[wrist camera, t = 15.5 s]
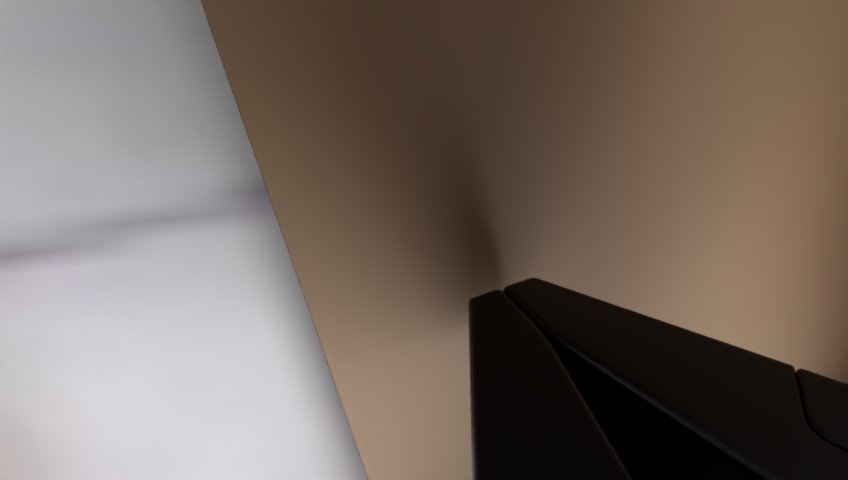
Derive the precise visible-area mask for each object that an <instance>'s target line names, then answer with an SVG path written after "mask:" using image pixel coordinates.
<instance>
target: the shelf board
mask: <svg viewBox="0 0 848 480" xmlns="http://www.w3.org/2000/svg"><path fill="white" fill-rule="evenodd" d="M201 3H202V6H203V8H204V11H205V14H206V17H207V20H208V23H209V26H210V28H211V31H212V34H213V37H214V40H215V43H216V46H217V48H218V51H219V54H220V57H221V60H222V63H223V66H224V68H225V71H226V74H227V77H228V80H229V83H230V86H231V88H232V91H233V94H234V97H235V100H236V103H237V106H238V108H239V111H240V114H241V117H242V120H243V123H244V126H245V128H246V131H247V134H248V137H249V140H250V143H251V146H252V148H253V151H254V154H255V157H256V160H257V163H258V166H259V168H260V171H261V174H262V177H263V180H264V183H265V186H266V188H267V191H268V194H269V197H270V200H271V203H272V206H273V208H274V211H275V214H276V217H277V220H278V223H279V226H280V228H281V231H282V234H283V237H284V240H285V243H286V246H287V248H288V251H289V254H290V257H291V260H292V263H293V266H294V268H295V271H296V274H297V277H298V280H299V283H300V286H301V288H302V291H303V294H304V297H305V300H306V303H307V306H308V308H309V311H310V314H311V317H312V320H313V323H314V326H315V328H316V331H317V334H318V337H319V340H320V343H321V346H322V348H323V351H324V354H325V357H326V360H327V363H328V366H329V368H330V371H331V374H332V377H333V380H334V383H335V386H336V388H337V391H338V394H339V397H340V400H341V403H342V406H343V408H344V411H345V414H346V417H347V420H348V423H349V426H350V428H351V431H352V434H353V437H354V440H355V443H356V446H357V448H358V451H359V454H360V457H361V460H362V463H363V466H364V468H365V471H366V474H367V477H368V480H472V464H471V413H470V363H469V312H468V303H469V300H470V299H471V298H473V297H476V296H479V295H482V294H485V293H488V292H491V291H493V290H501V291H503V289H504V288H505V287H506V286H508V285H511V284H514V283H517V282H520V281H523V280H525V279H528V278H538V279H541V280H544V281H547V282H550V283H553V284H556V285H559V286H562V287H565V288H568V289H571V290H573V291H576V292H579V293H582V294H585V295H588V296H591V297H594V298H597V299H600V300H603V301H606V302H609V303H612V304H614V305H617V306H620V307H623V308H626V309H629V310H632V311H635V312H638V313H641V314H644V315H647V316H650V317H652V318H655V319H658V320H661V321H664V322H667V323H670V324H673V325H676V326H679V327H682V328H685V329H688V330H690V331H693V332H696V333H699V334H702V335H705V336H708V337H711V338H714V339H717V340H720V341H723V342H726V343H729V344H731V345H734V346H737V347H740V348H743V349H746V350H749V351H752V352H755V353H758V354H761V355H764V356H767V357H769V358H772V359H775V360H778V361H781V362H784V363H787V364H790V365H792V366H793V367H794V368H795V371H797V370H798V369H800V368H802V369H805V370H808V371H811V372H814V373H817V374H820V375H823V376H826V377H829V378H832V379H835V380H838V381H841V382H844V383H847V384H848V0H201Z"/></svg>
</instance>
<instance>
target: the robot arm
mask: <svg viewBox="0 0 848 480" xmlns="http://www.w3.org/2000/svg"><path fill="white" fill-rule="evenodd" d="M468 312H469V363H470V413H471V464H472V480H848V384H847V383H844V382H841V381H838V380H835V379H832V378H829V377H826V376H823V375H820V374H817V373H814V372H811V371H808V370H805V369H802V368H800V369H798V370H797V371H795V368H794V367H793V366H792V365H790V364H787V363H784V362H781V361H778V360H775V359H772V358H769V357H767V356H764V355H761V354H758V353H755V352H752V351H749V350H746V349H743V348H740V347H737V346H734V345H731V344H729V343H726V342H723V341H720V340H717V339H714V338H711V337H708V336H705V335H702V334H699V333H696V332H693V331H690V330H688V329H685V328H682V327H679V326H676V325H673V324H670V323H667V322H664V321H661V320H658V319H655V318H652V317H650V316H647V315H644V314H641V313H638V312H635V311H632V310H629V309H626V308H623V307H620V306H617V305H614V304H612V303H609V302H606V301H603V300H600V299H597V298H594V297H591V296H588V295H585V294H582V293H579V292H576V291H573V290H571V289H568V288H565V287H562V286H559V285H556V284H553V283H550V282H547V281H544V280H541V279H538V278H528V279H525V280H523V281H520V282H517V283H514V284H511V285H508V286H506V287H505V288H504V289H503V291H501V290H493V291H491V292H488V293H485V294H482V295H479V296H476V297H473V298H471V299H470V300H469V303H468Z"/></svg>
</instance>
